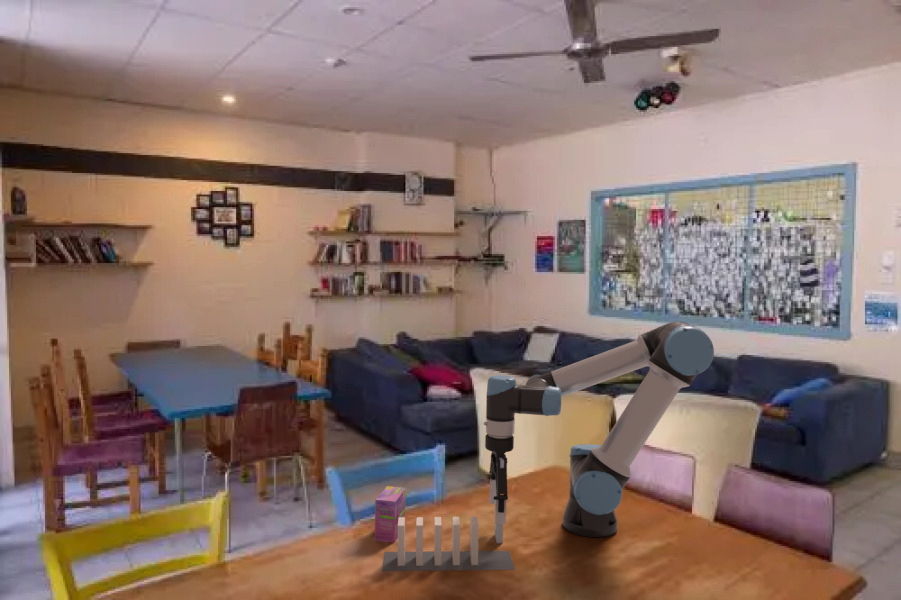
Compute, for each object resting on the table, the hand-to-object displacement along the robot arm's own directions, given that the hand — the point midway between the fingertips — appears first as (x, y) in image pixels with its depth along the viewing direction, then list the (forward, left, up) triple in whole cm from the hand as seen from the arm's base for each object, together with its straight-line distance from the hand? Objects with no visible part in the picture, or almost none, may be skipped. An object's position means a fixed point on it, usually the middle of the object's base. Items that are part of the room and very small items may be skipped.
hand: (497, 512), depth 169 cm
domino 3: (+16, +12, -7) cm, 21 cm away
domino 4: (+12, +12, -7) cm, 18 cm away
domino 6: (0, 0, -8) cm, 8 cm away
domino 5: (+7, +12, -7) cm, 16 cm away
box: (+29, -4, -8) cm, 30 cm away
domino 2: (+21, +12, -7) cm, 25 cm away
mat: (+14, +12, -8) cm, 20 cm away
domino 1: (+25, +12, -7) cm, 29 cm away
